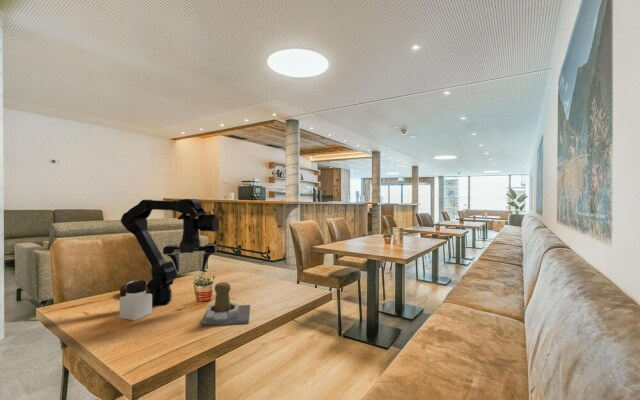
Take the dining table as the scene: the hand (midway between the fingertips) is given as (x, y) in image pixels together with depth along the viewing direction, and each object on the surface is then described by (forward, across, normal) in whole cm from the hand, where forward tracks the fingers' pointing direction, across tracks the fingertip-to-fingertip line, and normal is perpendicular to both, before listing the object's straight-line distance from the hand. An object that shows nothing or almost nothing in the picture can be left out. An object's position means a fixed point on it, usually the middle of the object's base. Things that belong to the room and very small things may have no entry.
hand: (190, 271), depth 118 cm
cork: (+12, +14, -16) cm, 24 cm away
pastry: (+13, -26, +19) cm, 35 cm away
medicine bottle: (+13, -16, -9) cm, 23 cm away
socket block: (+13, +15, -15) cm, 25 cm away
